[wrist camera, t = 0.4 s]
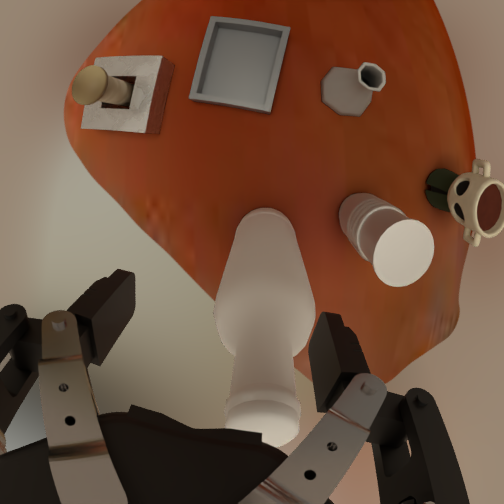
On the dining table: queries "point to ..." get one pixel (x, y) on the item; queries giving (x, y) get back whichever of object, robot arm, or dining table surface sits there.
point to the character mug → (470, 200)
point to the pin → (100, 88)
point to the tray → (239, 64)
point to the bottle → (264, 325)
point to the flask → (351, 88)
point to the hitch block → (133, 95)
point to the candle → (387, 238)
